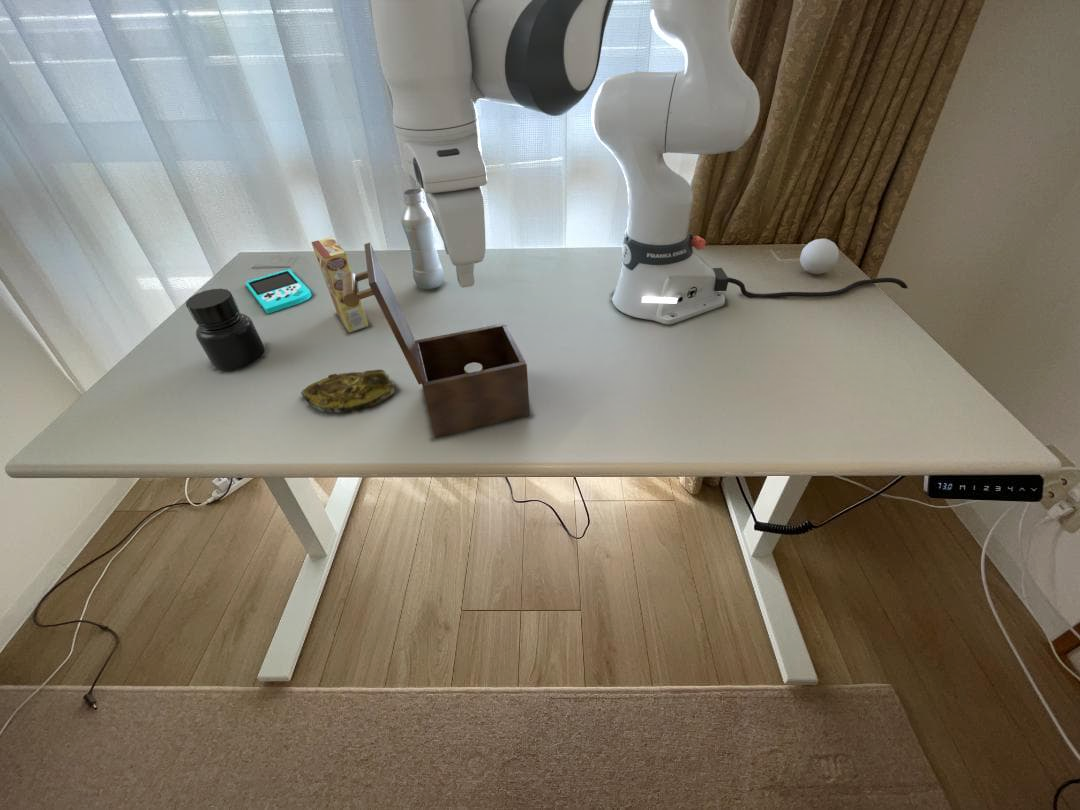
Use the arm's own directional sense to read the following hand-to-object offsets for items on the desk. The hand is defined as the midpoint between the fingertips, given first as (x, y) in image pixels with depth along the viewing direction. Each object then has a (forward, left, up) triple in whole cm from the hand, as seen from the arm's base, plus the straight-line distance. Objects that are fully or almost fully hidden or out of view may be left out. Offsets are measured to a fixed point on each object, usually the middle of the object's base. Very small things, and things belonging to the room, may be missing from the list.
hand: (459, 267), depth 63 cm
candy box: (+19, -33, -23) cm, 44 cm away
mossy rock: (+20, -9, -23) cm, 31 cm away
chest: (+1, 0, -23) cm, 23 cm away
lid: (+9, 0, -5) cm, 10 cm away
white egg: (-79, -19, -23) cm, 85 cm away
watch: (0, 0, -22) cm, 22 cm away
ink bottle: (+39, -27, -23) cm, 52 cm away
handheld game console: (+34, -51, -23) cm, 65 cm away
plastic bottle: (+2, -42, -23) cm, 48 cm away
